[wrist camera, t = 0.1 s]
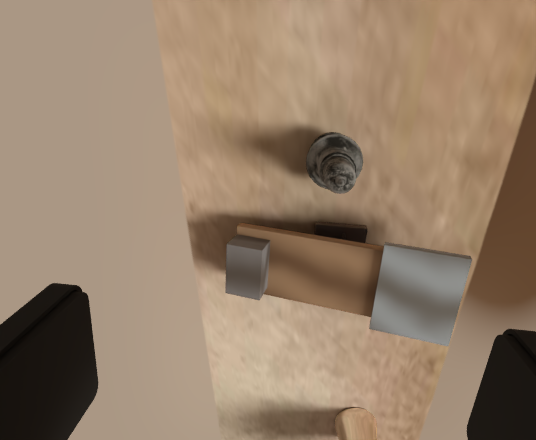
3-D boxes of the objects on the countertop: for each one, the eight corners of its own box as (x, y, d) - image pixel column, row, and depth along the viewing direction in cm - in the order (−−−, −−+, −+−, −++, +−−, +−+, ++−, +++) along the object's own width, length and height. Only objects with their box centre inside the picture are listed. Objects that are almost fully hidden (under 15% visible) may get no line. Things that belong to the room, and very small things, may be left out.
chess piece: (322, 190, 45) (328, 227, 34) (296, 147, 44) (293, 171, 32) (367, 164, 44) (390, 194, 32) (342, 119, 42) (356, 134, 31)
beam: (241, 214, 44) (227, 226, 40) (468, 251, 38) (476, 269, 34) (238, 290, 48) (225, 308, 44) (445, 334, 42) (451, 360, 38)
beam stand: (249, 215, 47) (244, 230, 43) (434, 231, 46) (448, 248, 41) (247, 274, 50) (241, 293, 45) (421, 290, 48) (432, 311, 44)
